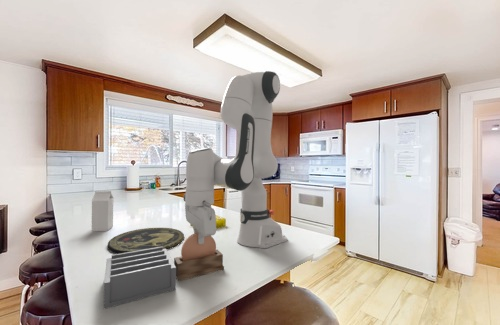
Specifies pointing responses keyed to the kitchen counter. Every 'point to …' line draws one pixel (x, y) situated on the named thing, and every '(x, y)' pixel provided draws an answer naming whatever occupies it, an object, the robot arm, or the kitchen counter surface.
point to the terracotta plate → (197, 247)
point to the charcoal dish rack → (138, 276)
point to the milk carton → (102, 211)
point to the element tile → (220, 222)
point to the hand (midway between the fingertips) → (199, 241)
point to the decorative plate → (145, 240)
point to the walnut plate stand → (198, 266)
